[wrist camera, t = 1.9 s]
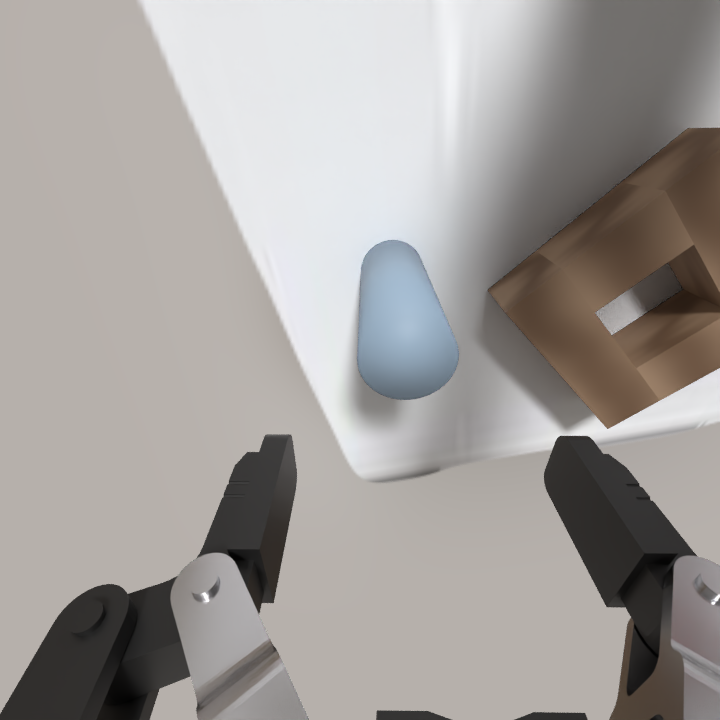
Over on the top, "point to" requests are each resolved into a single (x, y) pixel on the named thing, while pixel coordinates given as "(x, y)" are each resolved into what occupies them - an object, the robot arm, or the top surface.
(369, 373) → the peg
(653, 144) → the top surface
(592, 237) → the socket block
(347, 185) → the top surface
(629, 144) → the top surface
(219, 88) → the top surface
